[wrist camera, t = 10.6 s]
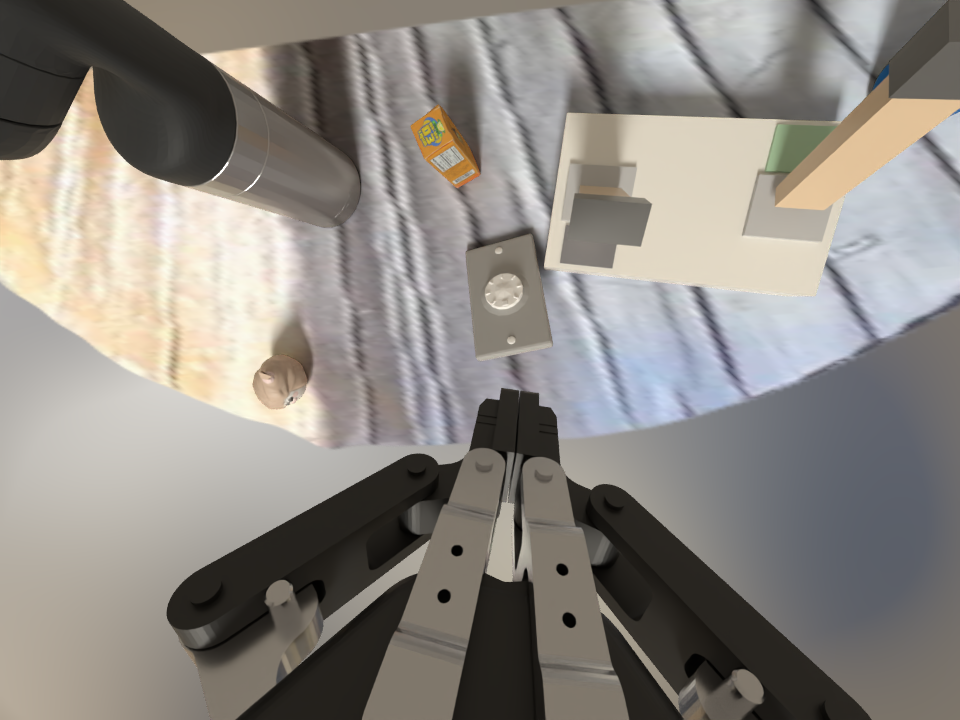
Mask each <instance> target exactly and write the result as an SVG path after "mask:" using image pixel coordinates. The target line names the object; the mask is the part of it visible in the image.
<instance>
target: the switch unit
mask: <svg viewBox="0 0 960 720" xmlns="http://www.w3.org/2000/svg"><path fill="white" fill-rule="evenodd" d="M840 123H841V121H810V120H779V119H748V118H717V117H686V116H655V115H624V114H593V113H567V117H566V124H565V130H564V137H563V144H562V150H561V157H560V164H559V170H558V177H557V183H556V190H555V197H554V203H553V210H552V216H551V223H550V230H549V236H548V243H547V250H546V256H545V263H544V268H545V270H553V271H562V272H571V273H580V274H589V275H598V276H608V277H617V278H626V279H635V280H644V281H653V282H662V283H671V284H680V285H689V286H698V287H707V288H716V289H725V290H734V291H743V292H753V293H762V294H771V295H780V296H816V292H817V289H818V286H819V282H820V279H821V276H822V272H823V269H824V266H825V262H826V259H827V256H828V252H829V249H830V246H831V242H832V239H833V236H834V232H835V229H836V225H837V222H838V219H839V215H840V212H841V209H842V205H843V202H844V199H845V195H846V194H845V195H844V196H842V197H841V198H840V199H838V200H837V201H836V202H834V203H833V204H832V205H830V206H829V207H828V208H826V209H825V210H812V209H797V208H783V207H775V193H776V187H777V186H778V185H779V184H780V183H781V182H782V181H783V180H784V179H785V178H786V177H787V176H788V175H789V174H790V173H791V172H792V171H793V170H794V169H795V168H796V167H797V166H798V165H799V164H800V163H801V162H802V161H803V160H804V159H805V158H806V157H807V156H808V155H809V154H810V153H811V152H812V151H813V150H814V149H815V148H816V147H817V146H818V145H819V144H820V143H821V142H822V141H823V140H824V139H825V138H826V137H827V136H828V135H829V134H830V133H831V132H832V131H833V130H834V129H835V128H836V127H837V126H838V125H839V124H840ZM580 185H584V186H599V187H614V188H622V189H623V190H624V191H625V192H626V193H627V194H628V195H629V196H630V197H637V198H645V199H646V200H648V201H649V202H650V203H652V207H651V210H650V214H649V218H648V222H647V225H646V229H645V233H644V237H643V240H642V244H641V247H638V246H628V245H617V244H607V243H596V242H586V241H575V240H567V237H568V230H569V224H570V218H571V212H572V206H573V199H574V193H579V188H580Z"/></svg>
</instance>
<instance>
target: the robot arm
mask: <svg viewBox="0 0 960 720" xmlns="http://www.w3.org/2000/svg"><path fill="white" fill-rule="evenodd" d="M91 66H93V78H94V94H95V101H96V106H97V111H98V114H99V118H100V121H101V124H102V126H103V129H104V131H105V133H106V135H107V137H108V139H109V140H110V142H111V144H112V145H113V146H114V148H115V149H116V151H117V152H118V153H119V154H120V155H121V156H122V157H123V158H124V159H125V160H126V161H127V162H128V163H129V164H130V165H132V166H133V167H135V168H136V169H138V170H140V171H141V172H143V173H145V174H147V175H150V176H152V177H155V178H158V179H161V180H164V181H168V182H171V183H174V184H178V185H182V186H185V187H188V188H192V189H195V190H198V191H202V192H205V193H208V194H212V195H215V196H219V197H222V198H226V199H229V200H232V201H236V202H239V203H242V204H246V205H249V206H252V207H256V208H259V209H262V210H266V211H269V212H272V213H276V214H279V215H282V216H286V217H289V218H292V219H295V220H299V221H302V222H306V223H309V224H312V225H316V226H319V227H324V228H330V227H335V226H338V225H340V224H342V223H344V222H345V221H346V220H347V219H348V218H350V216H351V215H352V214H353V212H354V211H355V209H356V207H357V204H358V201H359V197H360V179H359V175H358V172H357V169H356V167H355V165H354V163H353V162H352V160H351V159H350V158H349V157H348V156H347V155H346V154H345V153H343V152H342V151H341V150H339V149H338V148H336V147H335V146H333V145H332V144H330V143H329V142H327V141H326V140H325V139H323V138H322V137H320V136H319V135H317V134H316V133H315V132H313V131H312V130H310V129H309V128H307V127H306V126H304V125H303V124H301V123H300V122H298V121H297V120H295V119H294V118H292V117H291V116H290V115H288V114H287V113H285V112H284V111H282V110H281V109H279V108H278V107H276V106H275V105H273V104H272V103H270V102H269V101H268V100H266V99H265V98H263V97H262V96H260V95H259V94H257V93H256V92H254V91H253V90H251V89H250V88H248V87H247V86H245V85H244V84H242V83H241V82H239V81H238V80H236V79H235V78H233V77H232V76H230V75H229V74H227V73H226V72H225V71H223V70H222V69H220V68H219V67H217V66H216V65H214V64H213V63H211V62H210V61H208V60H207V59H206V58H204V57H203V56H201V55H200V54H198V53H197V52H195V51H193V50H192V49H191V48H189V47H188V46H186V45H185V44H184V43H182V42H181V41H179V40H178V39H177V38H175V37H174V36H172V35H171V34H170V33H168V32H167V31H166V30H164V29H163V28H161V27H160V26H159V25H157V24H156V23H155V22H153V21H152V20H150V19H149V18H147V17H146V16H145V15H143V14H142V13H140V12H139V11H138V10H136V9H135V8H133V7H132V6H130V5H129V4H127V3H126V2H125V1H123V0H0V160H17V159H24V158H28V157H32V156H34V155H36V154H38V153H39V152H41V151H42V150H43V149H44V148H46V146H47V145H48V144H49V143H50V142H51V141H52V139H53V138H54V137H55V135H56V134H57V132H58V130H59V129H60V127H61V125H62V122H63V120H64V118H65V116H66V114H67V112H68V110H69V108H70V106H71V104H72V102H73V100H74V98H75V96H76V94H77V92H78V90H79V88H80V86H81V84H82V82H83V80H84V78H85V76H86V74H87V72H88V71H89V69H90V67H91ZM518 401H519V402H518ZM509 483H510V485H509ZM508 488H509V497H508V503H514V504H515V505H514V515H513V520H512V561H513V582H503V581H501V580H499V579H496V578H494V577H492V576H490V575H488V574H486V572H487V567H488V562H489V557H490V552H491V547H492V542H493V537H494V532H495V527H496V522H497V518H498V517H499V514H500V509H501V503H502V502H506V500H507V494H508ZM428 540H430V542H429V545H428V548H427V551H426V553H425V556H424V559H423V561H422V564H421V567H420V570H419V572H418V574H415V575H412V576H409V577H407V578H405V579H403V580H401V581H399V582H398V583H396V584H395V585H393V586H392V587H391V588H389V589H388V590H387V591H386V592H384V593H383V594H382V595H381V596H380V597H378V598H377V599H376V600H375V601H374V602H373V603H371V604H370V605H369V606H368V607H367V608H366V609H364V610H363V611H362V612H361V613H360V614H358V615H357V616H356V617H355V618H354V619H353V620H351V621H350V622H349V623H348V624H347V625H346V626H344V627H343V628H342V629H341V630H340V631H339V632H337V633H336V634H335V635H334V636H333V637H331V638H330V639H329V640H328V641H327V642H326V643H325V644H323V645H322V646H321V647H320V648H319V649H317V650H316V651H315V652H314V653H313V654H312V655H310V656H309V657H308V658H307V659H306V660H305V661H304V662H302V663H301V661H303V660H304V658H306V656H307V655H309V654H310V653H311V651H312V650H313V649H314V648H315V646H316V645H317V643H318V641H319V639H320V637H321V634H322V631H323V620H325V619H326V618H327V617H329V616H330V615H331V614H333V613H334V612H335V611H336V610H338V609H339V608H340V607H342V606H343V605H344V604H346V603H347V602H348V601H350V600H351V599H352V598H354V597H355V596H356V595H358V594H359V593H360V592H362V591H363V590H364V589H365V588H367V587H368V586H369V585H371V584H372V583H373V582H375V581H376V580H377V579H379V578H380V577H381V576H383V575H384V574H385V573H386V572H388V571H389V570H390V569H392V568H393V567H394V566H396V565H397V564H398V563H400V562H401V561H402V560H403V559H405V558H406V557H407V556H409V555H410V554H411V553H413V552H414V551H415V550H417V549H418V548H419V547H421V546H422V545H423V544H425V543H426V542H427V541H428ZM596 592H597V593H598V594H599V596H600V597H601V598H602V599H603V601H604V602H605V603H606V605H607V606H608V607H609V608H610V610H611V611H612V612H613V613H614V615H615V616H616V617H617V619H618V620H619V621H620V622H621V624H622V625H623V626H624V627H625V629H626V630H627V631H628V632H629V634H630V635H631V636H632V637H633V639H634V640H635V641H636V642H637V644H638V645H639V646H640V648H641V649H642V650H643V651H644V653H645V654H646V655H647V656H648V658H649V659H650V660H651V661H652V663H653V664H654V665H655V666H656V668H657V669H658V670H659V672H660V673H661V674H662V675H663V677H664V678H665V679H666V680H667V682H668V683H669V684H670V686H671V687H672V688H673V689H674V691H675V692H676V693H677V694H678V696H679V710H680V713H679V712H678V710H677V709H676V707H675V706H674V705H673V703H672V702H671V701H670V699H669V698H668V697H667V695H666V694H665V693H664V691H663V690H662V689H661V687H660V686H659V685H658V683H657V682H656V680H655V679H654V678H653V676H652V675H651V673H650V672H649V671H648V669H647V668H646V667H645V665H644V664H643V663H642V661H641V660H640V659H639V657H638V656H637V655H636V653H635V652H634V650H633V649H632V648H631V646H630V645H629V644H628V642H627V641H626V640H625V638H624V637H623V635H622V634H621V633H620V632H619V630H618V629H617V628H616V627H615V626H614V624H613V623H612V622H611V621H610V620H609V619H608V618H607V617H606V616H605V615H604V614H602V613H601V612H600V608H599V603H598V598H597V593H596ZM167 619H168V621H169V623H170V624H171V626H172V627H173V629H174V630H175V632H176V633H177V635H178V637H179V641H180V643H181V645H182V647H183V648H184V649H185V651H186V652H187V654H188V655H189V657H190V658H191V659H192V661H193V662H194V664H195V665H196V667H197V668H198V672H199V676H200V680H201V684H202V688H203V692H204V696H205V700H206V704H207V708H208V712H209V716H210V720H871V718H870V717H869V716H868V714H867V713H866V712H865V711H864V710H863V709H862V707H861V706H860V705H859V704H858V703H857V702H856V701H855V700H854V699H852V698H851V697H850V696H849V695H848V694H847V693H846V692H845V691H844V690H843V689H842V688H840V687H839V686H838V685H837V684H836V683H835V682H834V681H833V680H832V679H831V678H830V677H828V676H827V675H826V674H825V673H824V672H823V671H822V670H821V669H819V667H817V666H816V665H815V664H814V663H813V662H812V661H811V660H810V659H809V658H808V657H807V656H805V655H804V654H803V653H802V652H801V651H800V650H799V649H798V648H797V647H796V646H795V645H793V644H792V643H791V642H790V641H789V640H788V639H787V638H786V637H785V636H784V635H783V634H781V633H780V632H779V631H778V630H777V629H776V628H775V627H774V626H773V625H771V624H770V623H769V622H768V621H767V620H766V619H765V618H764V617H763V616H762V615H761V614H760V613H758V612H757V611H756V610H755V609H754V608H753V607H752V606H751V605H750V604H749V603H748V602H746V601H745V600H744V599H743V598H742V597H741V596H740V595H739V594H738V593H736V591H734V590H733V589H732V588H731V587H730V586H729V585H728V584H727V583H726V582H725V581H723V580H722V579H721V578H720V577H719V576H718V575H717V574H716V573H715V572H714V571H713V570H711V569H710V568H709V567H708V566H707V565H706V564H705V563H704V562H703V561H701V559H699V558H698V557H697V556H696V555H695V554H694V553H693V552H692V551H691V550H689V549H688V548H687V547H686V546H685V545H684V544H683V543H682V542H681V541H680V540H679V539H678V538H676V537H675V536H674V535H673V534H672V533H671V532H670V531H669V530H668V529H667V528H666V527H664V526H663V525H662V524H661V523H660V522H659V521H658V520H657V519H656V518H655V517H653V516H652V515H651V514H650V513H649V512H648V511H647V510H646V509H645V508H644V507H642V506H641V505H640V504H639V503H638V502H637V501H636V500H635V499H634V498H633V497H631V495H629V494H628V493H627V492H626V491H624V490H623V489H621V488H619V487H616V486H613V485H608V484H602V485H598V486H596V487H594V488H593V489H592V490H590V489H588V488H585V487H583V486H581V485H578V484H576V483H575V482H573V481H572V480H570V479H569V478H568V477H567V476H566V475H565V472H564V470H563V468H562V467H561V465H560V456H559V442H558V429H557V417H556V415H555V414H554V412H553V411H552V409H551V408H549V407H543V406H539V393H533V392H526V391H520V396H519V390H512V389H505V388H501V394H500V400H494V399H486V400H485V401H484V402H483V403H482V404H481V405H480V406H479V411H478V416H477V420H476V424H475V428H474V433H473V437H472V441H471V446H470V450H469V452H468V453H467V454H466V455H465V457H464V458H463V459H462V460H460V461H458V462H455V463H452V464H445V465H438V463H437V462H436V460H435V459H434V458H432V457H431V456H428V455H425V454H411V455H407V456H405V457H403V458H402V459H400V460H398V461H396V462H394V463H393V464H391V465H389V466H387V467H385V468H383V469H382V470H380V471H378V472H376V473H374V474H372V475H371V476H369V477H367V478H365V479H363V480H362V481H360V482H358V483H356V484H354V485H353V486H351V487H349V488H347V489H345V490H344V491H342V492H340V493H338V494H336V495H334V496H333V497H331V498H329V499H327V500H325V501H323V502H322V503H320V504H318V505H316V506H314V507H312V508H311V509H309V510H307V511H305V512H303V513H302V514H300V515H298V516H296V517H294V518H292V519H291V520H289V521H287V522H285V523H284V524H282V525H280V526H278V527H276V528H274V529H273V530H271V531H269V532H267V533H265V534H263V535H262V536H260V537H258V538H256V539H254V540H252V541H251V542H249V543H247V544H245V545H243V546H242V547H240V548H238V549H236V550H234V551H233V552H231V553H229V554H227V555H225V556H223V557H222V558H220V559H218V560H216V561H214V562H212V563H211V564H209V565H207V566H205V567H203V568H202V569H200V570H198V571H196V572H195V573H193V574H192V575H191V576H190V577H188V578H187V579H186V580H185V581H184V582H182V584H181V585H180V586H179V587H178V588H177V589H176V591H175V592H174V593H173V595H172V597H171V599H170V601H169V603H168V607H167ZM300 663H301V664H300ZM299 664H300V665H299ZM298 665H299V666H298Z"/></svg>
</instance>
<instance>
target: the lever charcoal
mask: <svg viewBox="0 0 960 720" xmlns="http://www.w3.org/2000/svg"><path fill="white" fill-rule="evenodd" d="M651 207H652V203H650V202H649V201H648V200H646V199H645V198H637V197H630V196H629V195H628V194H627V193H626V192H625V191H624V190H623V189H622V188H614V187H599V186H584V185H580V188H579V193H574V199H573V206H572V212H571V218H570V224H569V230H568V237H567V240H575V241H586V242H596V243H607V244H617V245H628V246H638V247H641V244H642V240H643V237H644V233H645V229H646V225H647V222H648V218H649V214H650V210H651Z"/></svg>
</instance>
